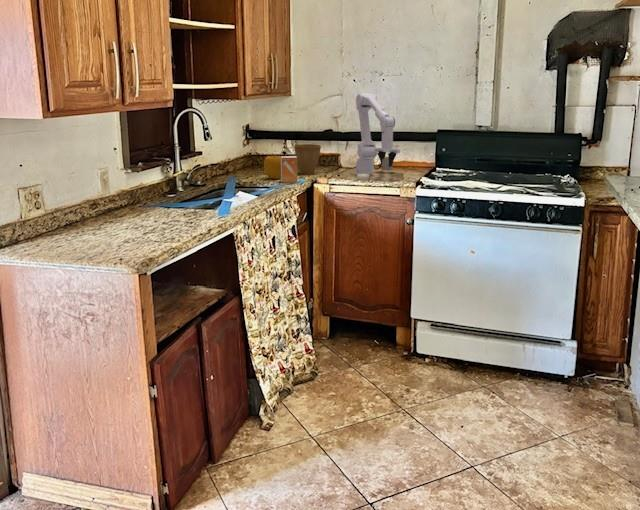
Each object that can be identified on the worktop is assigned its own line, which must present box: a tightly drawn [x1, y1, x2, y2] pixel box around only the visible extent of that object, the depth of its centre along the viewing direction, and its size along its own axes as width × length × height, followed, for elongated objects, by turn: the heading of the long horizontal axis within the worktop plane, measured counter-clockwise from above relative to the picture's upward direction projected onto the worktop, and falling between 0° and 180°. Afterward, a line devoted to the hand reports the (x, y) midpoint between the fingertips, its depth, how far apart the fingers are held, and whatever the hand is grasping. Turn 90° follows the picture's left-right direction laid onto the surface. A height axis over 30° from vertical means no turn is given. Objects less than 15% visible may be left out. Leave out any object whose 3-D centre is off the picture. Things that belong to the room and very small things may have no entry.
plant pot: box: [294, 143, 322, 175], centre depth 357 cm, size 15×15×16 cm
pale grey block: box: [356, 173, 370, 181], centre depth 336 cm, size 6×6×3 cm
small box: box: [280, 155, 298, 184], centre depth 328 cm, size 8×6×13 cm
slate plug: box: [381, 156, 394, 171], centre depth 334 cm, size 4×4×7 cm
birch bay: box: [368, 170, 405, 183], centre depth 335 cm, size 14×12×4 cm
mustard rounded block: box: [263, 154, 282, 180], centre depth 338 cm, size 11×11×13 cm
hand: (386, 166), depth 334 cm, fingers closed on slate plug, 4 cm apart
